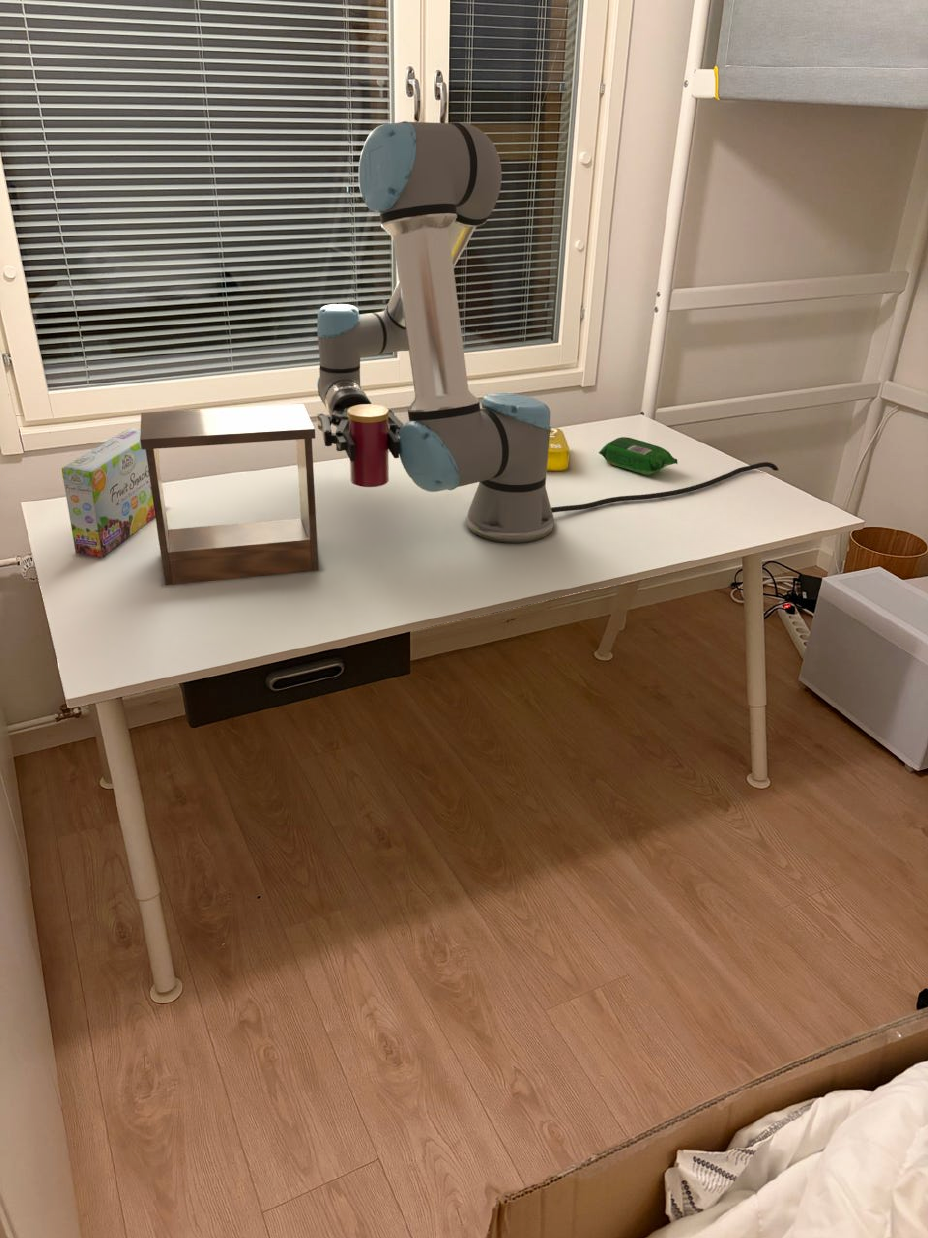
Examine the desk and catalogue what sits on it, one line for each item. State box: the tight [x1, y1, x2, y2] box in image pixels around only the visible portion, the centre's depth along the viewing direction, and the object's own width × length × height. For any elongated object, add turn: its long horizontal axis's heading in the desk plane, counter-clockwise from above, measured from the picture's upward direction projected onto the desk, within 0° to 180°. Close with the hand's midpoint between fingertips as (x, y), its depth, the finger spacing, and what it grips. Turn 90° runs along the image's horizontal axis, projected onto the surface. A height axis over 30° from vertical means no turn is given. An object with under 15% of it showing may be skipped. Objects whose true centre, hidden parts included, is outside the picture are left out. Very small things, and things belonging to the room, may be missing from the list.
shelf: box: [140, 403, 320, 586], centre depth 147 cm, size 25×13×24 cm, turn 106°
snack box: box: [61, 427, 162, 558], centre depth 157 cm, size 21×6×15 cm, turn 168°
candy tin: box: [347, 403, 390, 488], centre depth 154 cm, size 7×7×12 cm
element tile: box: [547, 427, 570, 472], centre depth 197 cm, size 15×15×5 cm
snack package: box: [598, 436, 678, 476], centre depth 193 cm, size 7×16×5 cm, turn 46°
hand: (374, 451), depth 150 cm, fingers closed on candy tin, 6 cm apart
